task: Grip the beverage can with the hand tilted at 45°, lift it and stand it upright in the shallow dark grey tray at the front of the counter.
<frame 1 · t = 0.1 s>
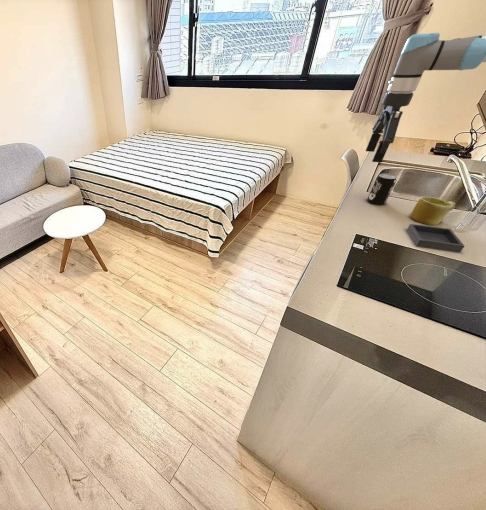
hand: (372, 156, 105), 21 cm above the table, tool pointing down, fingers open, 13 cm apart
mug: (428, 220, 105), on the table
dark grey tray: (430, 241, 94), on the table
beverage can: (375, 203, 118), on the table
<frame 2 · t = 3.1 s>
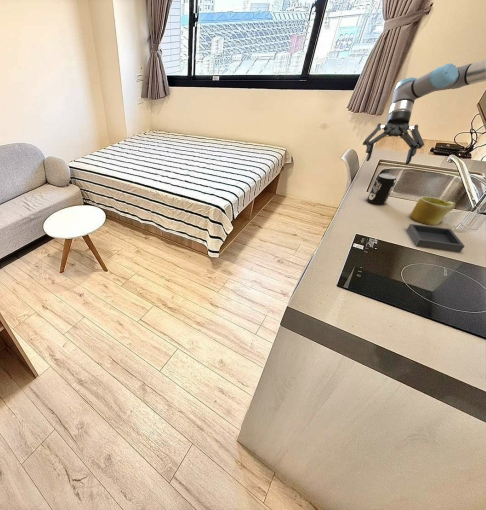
hand: (387, 161, 117), 15 cm above the table, tool tilted 45°, fingers open, 13 cm apart
nothing on the table moved.
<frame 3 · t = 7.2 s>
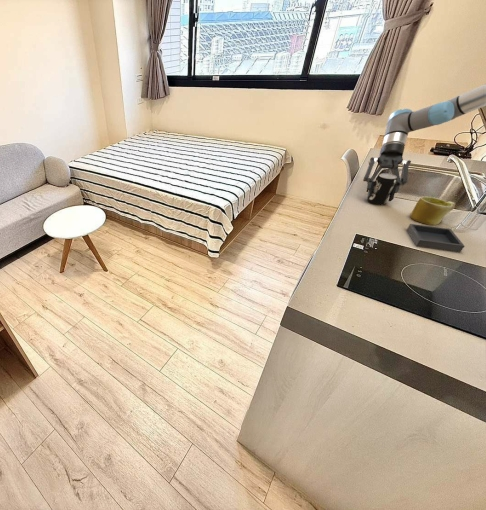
hand: (379, 198, 113), 4 cm above the table, tool tilted 45°, fingers closed on beverage can, 7 cm apart
beverage can: (374, 203, 118), on the table, touching gripper
everything else where it was.
when the fingers open (5 cm above the table, at t = 18.8 s): beverage can stays where it is, resting on dark grey tray.
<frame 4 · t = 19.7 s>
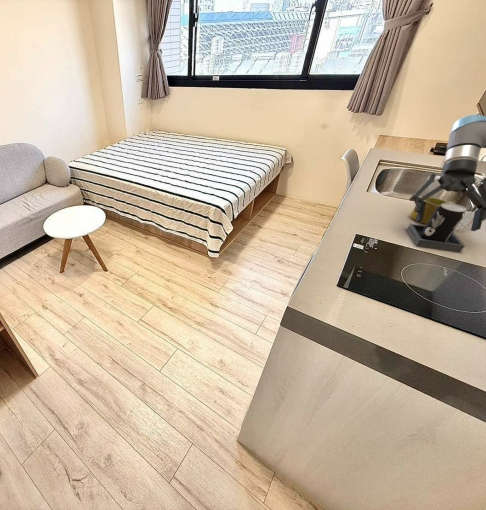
hand: (446, 225, 88), 8 cm above the table, tool tilted 45°, fingers open, 13 cm apart
beverage can: (431, 239, 93), point 1 cm above the table, touching dark grey tray
everything else where it was.
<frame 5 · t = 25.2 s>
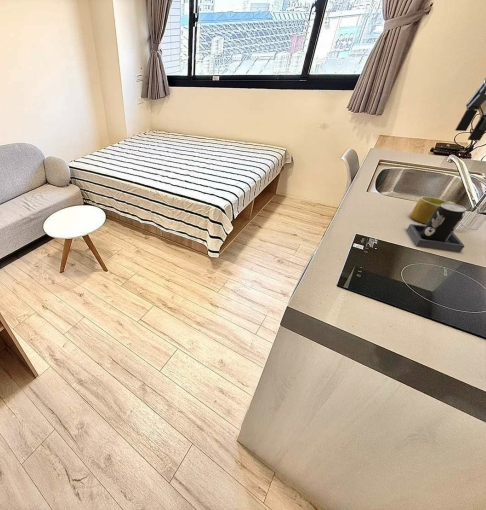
hand: (466, 135, 94), 29 cm above the table, tool pointing down, fingers open, 13 cm apart
nothing on the table moved.
at the end: beverage can 0.1 cm off-centre in the dark grey tray, point 0.8 cm above the dark grey tray's base; beverage can tilted 0°; the gripper is holding nothing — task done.
